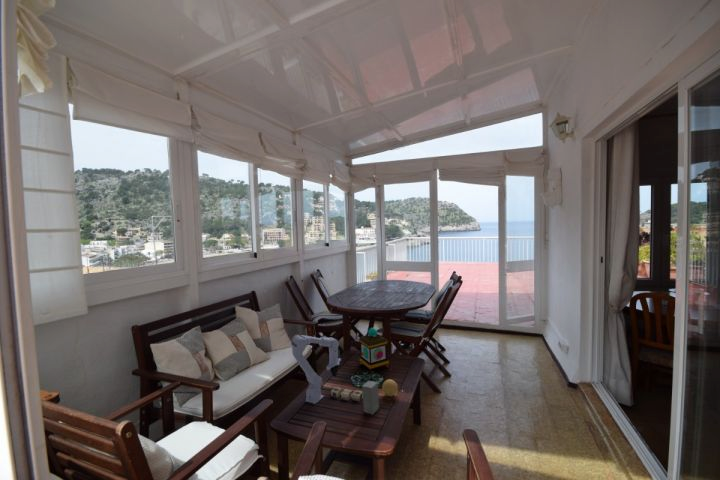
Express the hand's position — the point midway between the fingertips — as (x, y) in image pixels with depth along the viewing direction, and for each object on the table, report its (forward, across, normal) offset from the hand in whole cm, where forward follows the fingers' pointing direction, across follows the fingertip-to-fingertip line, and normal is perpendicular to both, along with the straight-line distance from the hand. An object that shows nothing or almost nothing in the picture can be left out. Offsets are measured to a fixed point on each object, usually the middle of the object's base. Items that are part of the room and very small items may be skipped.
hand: (334, 375), depth 211 cm
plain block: (+10, -5, -12) cm, 16 cm away
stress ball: (+10, +9, -36) cm, 39 cm away
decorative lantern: (+10, +41, -9) cm, 43 cm away
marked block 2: (+10, -3, -19) cm, 21 cm away
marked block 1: (+10, -5, -4) cm, 12 cm away
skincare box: (+10, -10, -32) cm, 35 cm away
